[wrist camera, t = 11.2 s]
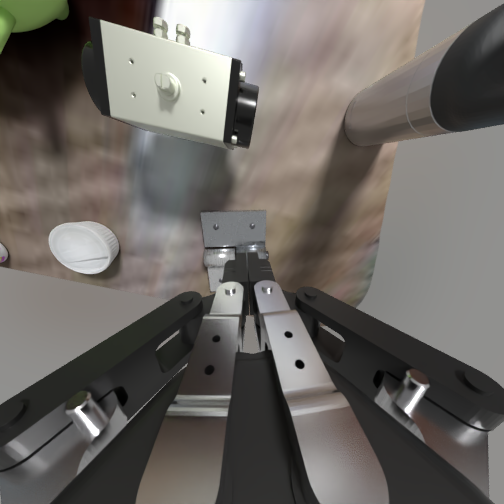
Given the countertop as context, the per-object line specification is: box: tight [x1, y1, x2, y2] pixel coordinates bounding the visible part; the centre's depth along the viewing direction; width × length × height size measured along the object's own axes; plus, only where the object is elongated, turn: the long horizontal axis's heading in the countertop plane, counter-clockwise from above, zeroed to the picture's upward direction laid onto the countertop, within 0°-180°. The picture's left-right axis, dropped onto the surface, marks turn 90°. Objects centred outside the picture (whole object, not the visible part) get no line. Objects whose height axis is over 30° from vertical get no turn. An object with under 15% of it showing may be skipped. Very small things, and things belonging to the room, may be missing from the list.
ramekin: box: [49, 221, 119, 274], centre depth 39 cm, size 11×11×5 cm
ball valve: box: [82, 17, 259, 150], centre depth 25 cm, size 18×8×18 cm, turn 79°
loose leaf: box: [204, 248, 236, 291], centre depth 44 cm, size 14×12×4 cm
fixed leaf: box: [200, 210, 269, 260], centre depth 41 cm, size 15×12×4 cm
